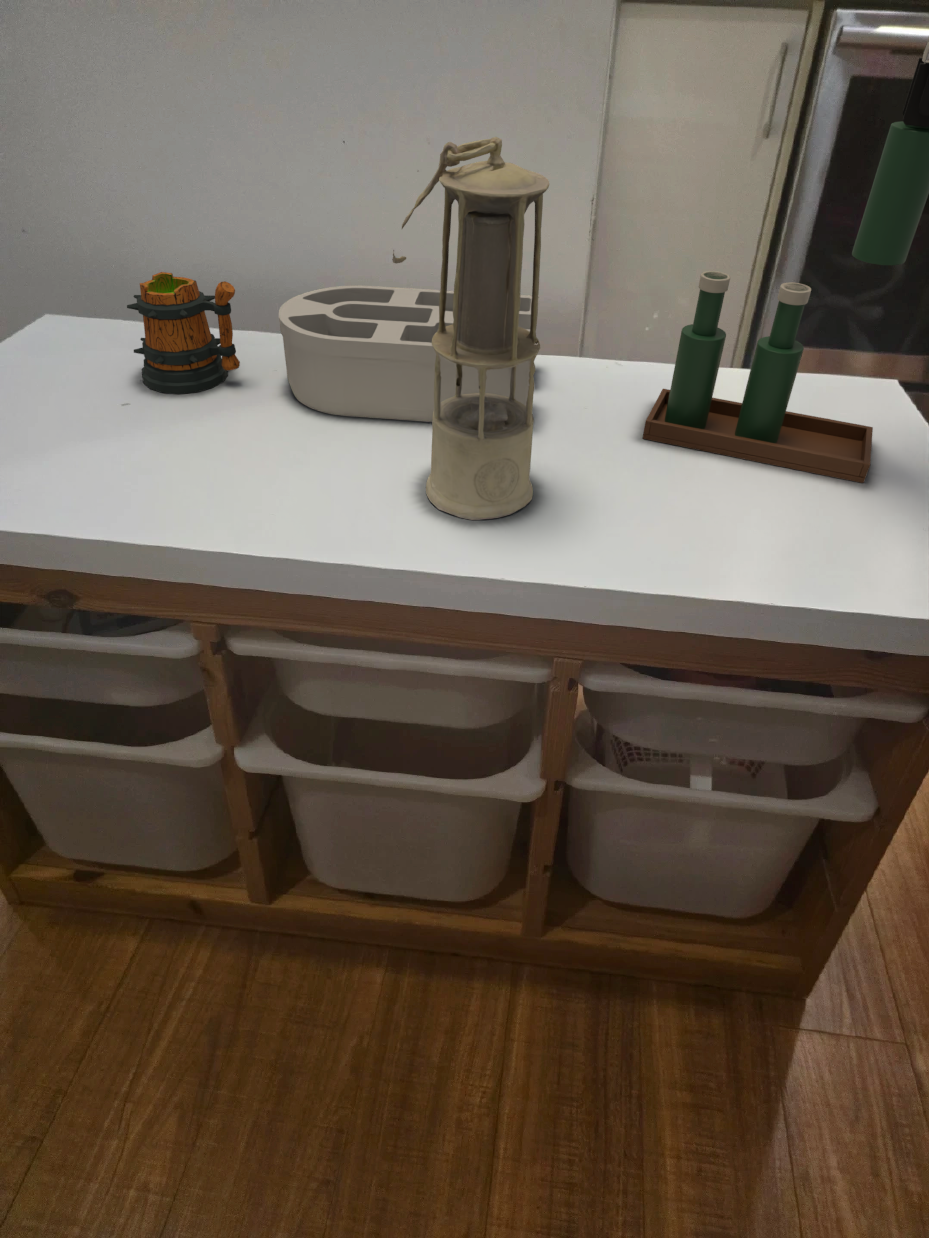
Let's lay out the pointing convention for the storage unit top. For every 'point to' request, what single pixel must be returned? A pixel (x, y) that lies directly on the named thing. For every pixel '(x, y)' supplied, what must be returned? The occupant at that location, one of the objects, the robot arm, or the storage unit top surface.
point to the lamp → (484, 334)
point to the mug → (184, 335)
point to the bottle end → (699, 356)
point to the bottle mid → (774, 369)
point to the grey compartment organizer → (379, 352)
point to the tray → (798, 444)
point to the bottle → (896, 196)
